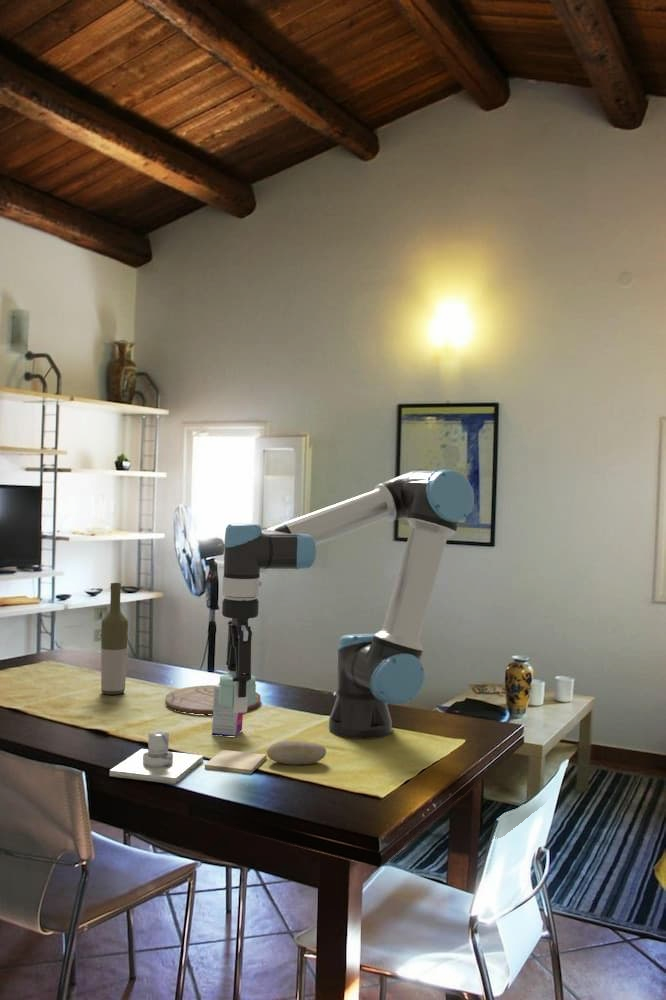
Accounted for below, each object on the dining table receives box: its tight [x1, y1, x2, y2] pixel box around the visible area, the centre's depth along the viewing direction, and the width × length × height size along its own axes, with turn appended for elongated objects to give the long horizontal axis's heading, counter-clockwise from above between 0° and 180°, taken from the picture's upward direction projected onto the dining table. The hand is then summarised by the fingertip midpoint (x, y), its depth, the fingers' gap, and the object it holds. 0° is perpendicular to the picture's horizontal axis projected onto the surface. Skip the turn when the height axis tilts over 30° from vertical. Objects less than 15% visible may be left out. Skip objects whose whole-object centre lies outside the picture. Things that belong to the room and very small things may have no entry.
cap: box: [218, 672, 257, 707], centre depth 175 cm, size 7×7×6 cm
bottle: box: [100, 582, 129, 696], centre depth 229 cm, size 7×7×30 cm
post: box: [109, 730, 204, 785], centre depth 171 cm, size 14×14×7 cm
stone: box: [266, 740, 327, 766], centre depth 177 cm, size 6×6×12 cm
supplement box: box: [211, 683, 244, 737], centre depth 196 cm, size 6×6×12 cm
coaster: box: [204, 749, 267, 775], centre depth 176 cm, size 10×10×1 cm
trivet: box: [164, 684, 262, 715], centre depth 223 cm, size 25×25×2 cm
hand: (236, 706), depth 175 cm, fingers closed on cap, 7 cm apart
